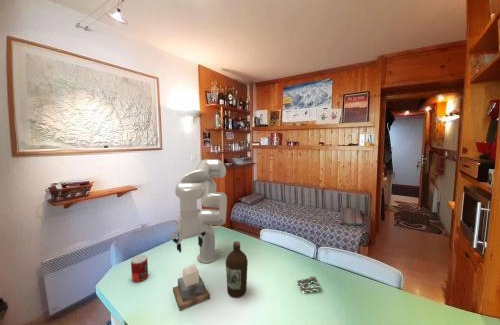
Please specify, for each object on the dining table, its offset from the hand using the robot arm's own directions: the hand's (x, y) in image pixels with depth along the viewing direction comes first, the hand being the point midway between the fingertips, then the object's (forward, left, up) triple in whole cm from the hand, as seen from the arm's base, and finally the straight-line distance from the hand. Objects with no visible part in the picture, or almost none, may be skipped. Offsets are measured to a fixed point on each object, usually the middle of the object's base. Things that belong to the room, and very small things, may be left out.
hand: (190, 248), depth 100 cm
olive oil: (-20, +9, -24) cm, 32 cm away
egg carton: (-52, +26, -24) cm, 63 cm away
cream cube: (0, 0, -16) cm, 16 cm away
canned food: (+20, -27, -24) cm, 41 cm away
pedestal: (0, 0, -23) cm, 23 cm away
